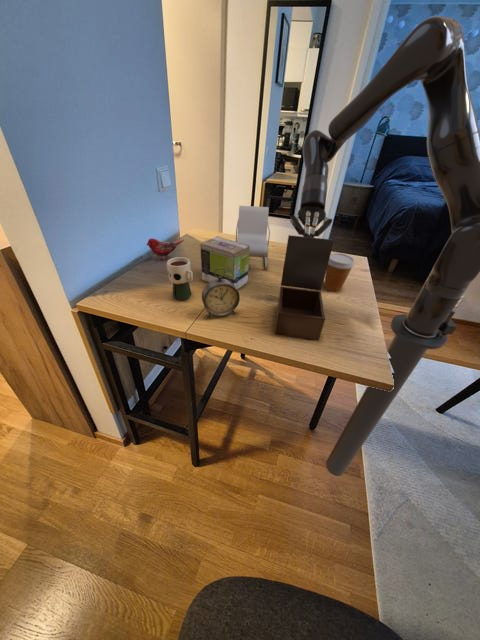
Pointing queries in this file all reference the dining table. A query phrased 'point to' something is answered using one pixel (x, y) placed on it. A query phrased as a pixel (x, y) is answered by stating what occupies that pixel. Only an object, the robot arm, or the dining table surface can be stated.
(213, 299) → the alarm clock
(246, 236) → the chair
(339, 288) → the disposable coffee cup
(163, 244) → the decorative bird figurine
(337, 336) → the dining table surface
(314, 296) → the dark brown box
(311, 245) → the lid
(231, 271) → the tea box
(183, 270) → the character mug
